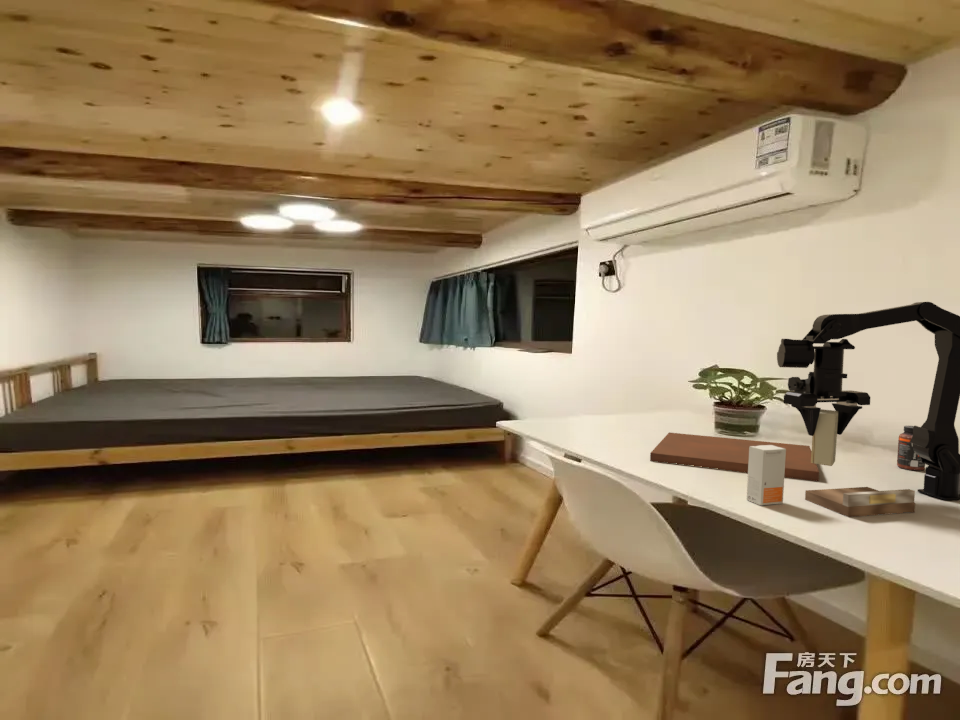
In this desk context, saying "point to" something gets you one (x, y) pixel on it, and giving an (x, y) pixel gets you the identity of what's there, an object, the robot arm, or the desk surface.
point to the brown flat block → (863, 500)
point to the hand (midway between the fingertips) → (824, 435)
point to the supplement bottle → (908, 452)
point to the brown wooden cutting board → (730, 454)
